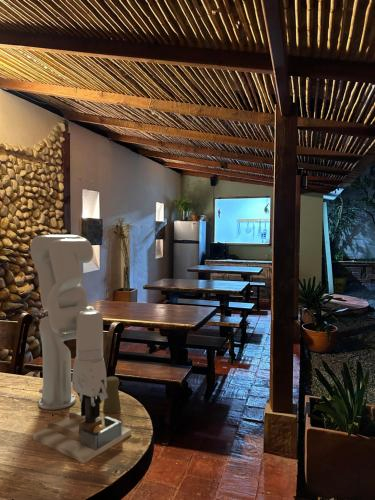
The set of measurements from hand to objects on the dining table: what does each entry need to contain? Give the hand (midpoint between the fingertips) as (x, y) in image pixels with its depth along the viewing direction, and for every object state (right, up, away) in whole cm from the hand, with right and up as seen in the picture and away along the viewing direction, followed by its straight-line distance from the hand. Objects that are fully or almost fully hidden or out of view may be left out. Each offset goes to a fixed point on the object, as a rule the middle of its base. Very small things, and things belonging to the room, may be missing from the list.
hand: (90, 415), depth 113 cm
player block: (0, -6, 0) cm, 6 cm away
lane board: (-3, -7, +2) cm, 8 cm away
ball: (+3, -4, -2) cm, 5 cm away
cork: (+2, -7, +20) cm, 22 cm away
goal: (+4, -6, -2) cm, 7 cm away
